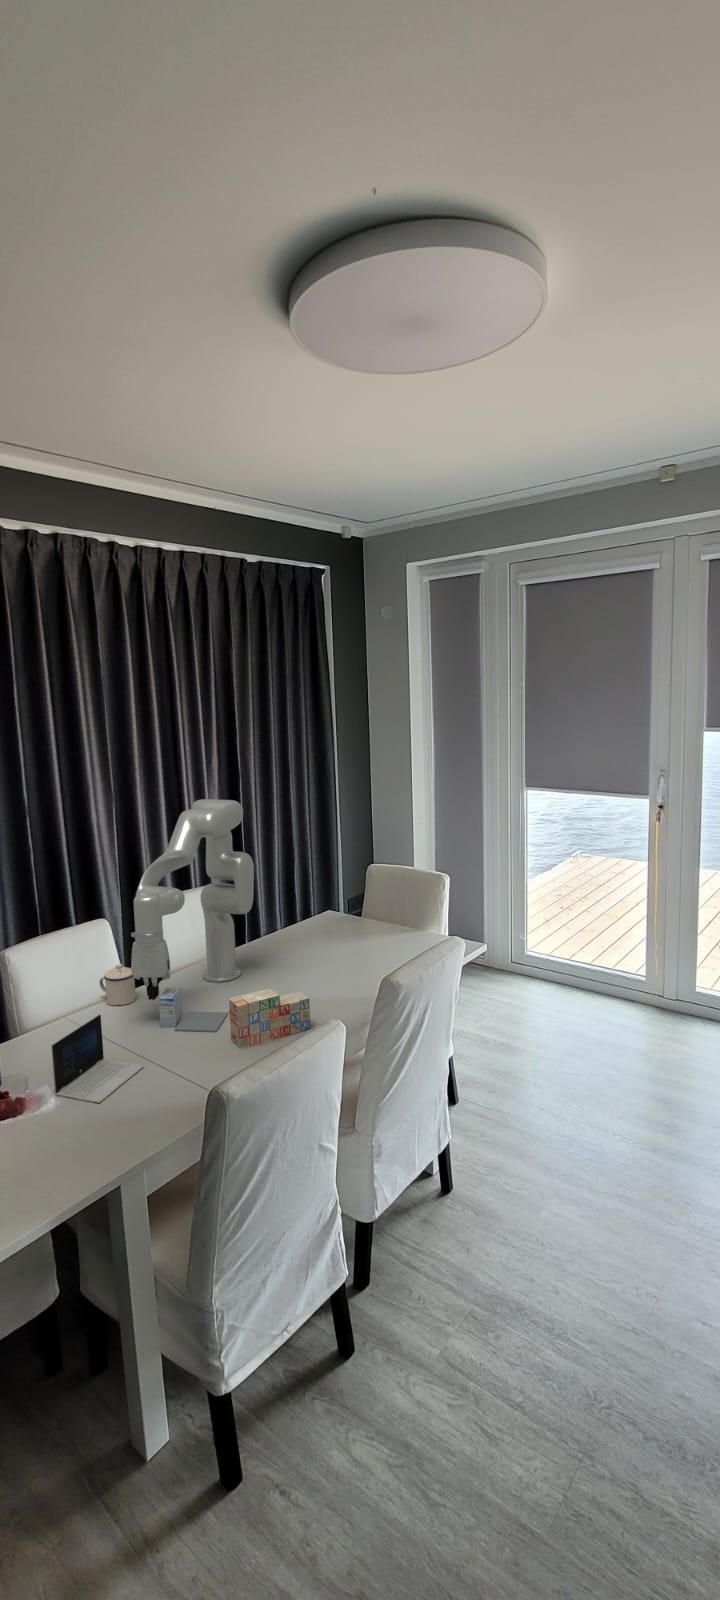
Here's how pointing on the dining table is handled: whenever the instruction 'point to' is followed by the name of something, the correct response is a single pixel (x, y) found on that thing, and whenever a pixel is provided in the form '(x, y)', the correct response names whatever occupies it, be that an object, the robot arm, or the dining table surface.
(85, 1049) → the laptop
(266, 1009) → the stack of blocks
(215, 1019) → the mat
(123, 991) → the teacup with lid
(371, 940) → the dining table surface
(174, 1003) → the medicine box
